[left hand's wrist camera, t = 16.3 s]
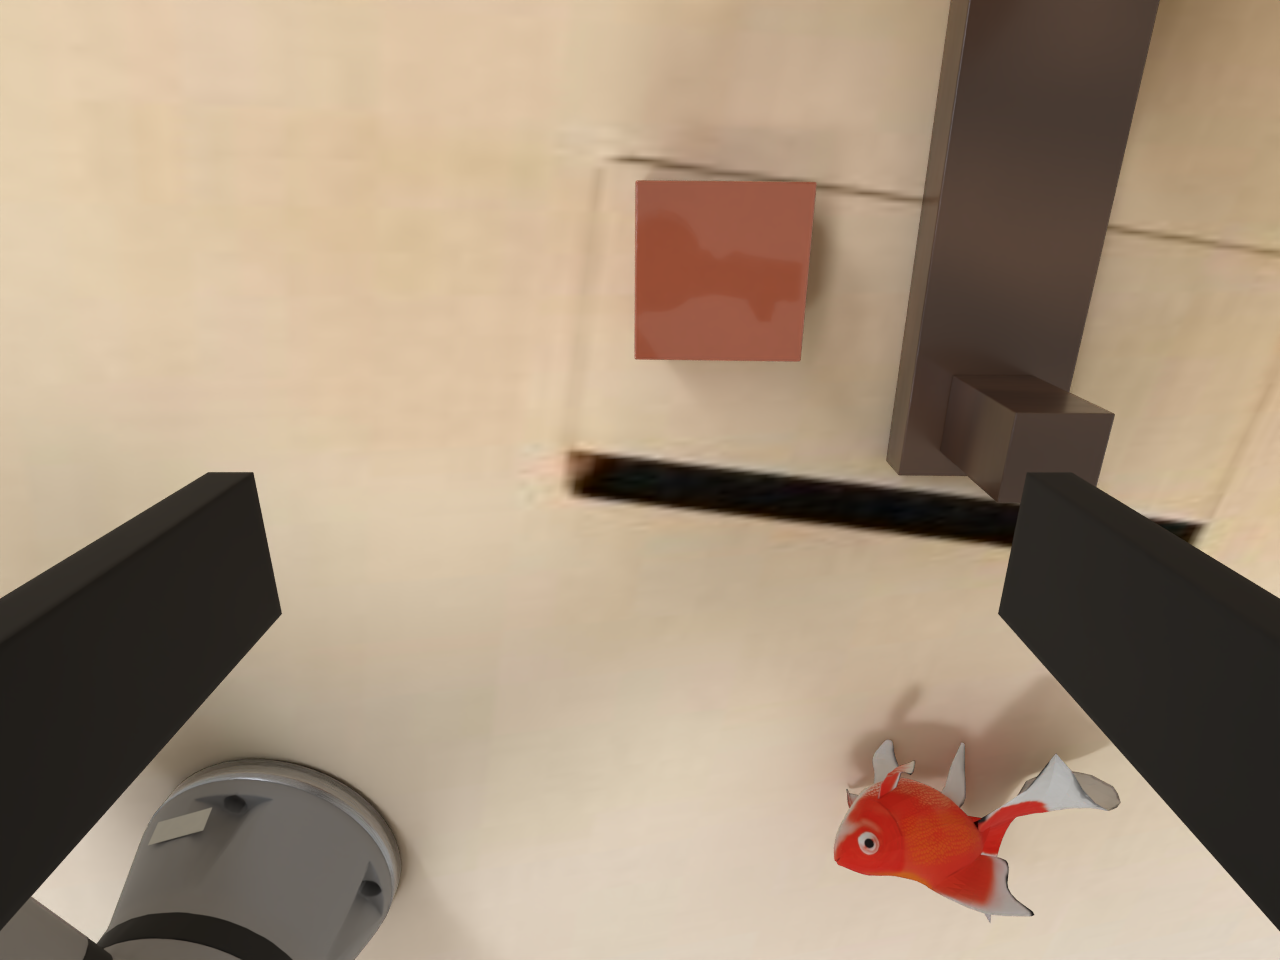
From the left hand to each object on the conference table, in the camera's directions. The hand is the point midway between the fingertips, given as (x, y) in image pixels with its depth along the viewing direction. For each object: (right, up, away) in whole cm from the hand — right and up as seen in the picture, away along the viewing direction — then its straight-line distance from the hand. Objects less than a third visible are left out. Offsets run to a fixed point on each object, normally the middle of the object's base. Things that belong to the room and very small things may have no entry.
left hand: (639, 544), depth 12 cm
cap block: (+3, +11, +20) cm, 23 cm away
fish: (+18, -15, +30) cm, 38 cm away
